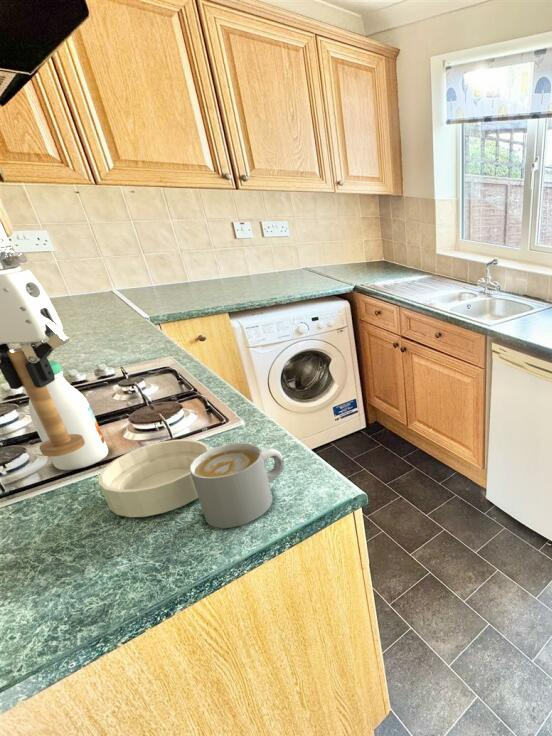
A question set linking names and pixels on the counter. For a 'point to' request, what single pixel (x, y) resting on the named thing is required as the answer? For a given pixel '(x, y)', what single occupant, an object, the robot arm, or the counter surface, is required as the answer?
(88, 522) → the counter surface
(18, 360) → the wooden masher
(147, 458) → the bowl
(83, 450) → the milk bottle
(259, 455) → the coffee mug
